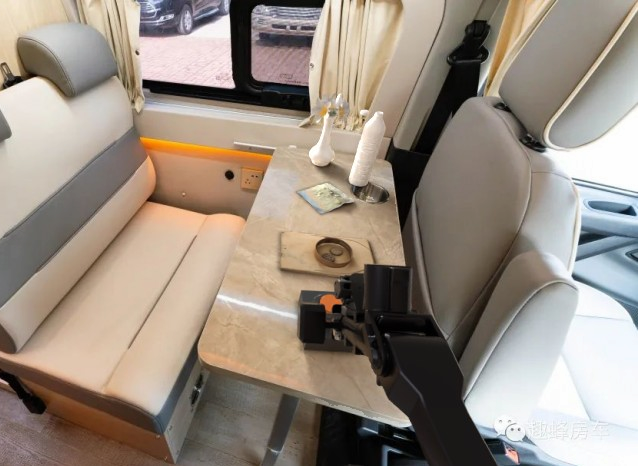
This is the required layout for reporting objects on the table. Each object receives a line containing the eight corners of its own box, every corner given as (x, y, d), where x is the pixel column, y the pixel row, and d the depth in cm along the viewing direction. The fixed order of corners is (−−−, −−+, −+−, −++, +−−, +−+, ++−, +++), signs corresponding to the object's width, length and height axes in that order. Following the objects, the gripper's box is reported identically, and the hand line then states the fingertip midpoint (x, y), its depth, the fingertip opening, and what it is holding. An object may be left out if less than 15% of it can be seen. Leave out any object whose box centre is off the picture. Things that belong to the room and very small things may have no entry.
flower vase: (338, 153, 132) (355, 89, 115) (334, 176, 119) (351, 107, 103) (306, 148, 136) (317, 85, 119) (298, 170, 123) (309, 102, 106)
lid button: (342, 318, 67) (344, 312, 66) (320, 317, 67) (322, 311, 66) (338, 300, 70) (340, 294, 69) (317, 299, 71) (319, 293, 69)
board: (368, 240, 94) (372, 232, 92) (379, 281, 83) (383, 273, 80) (280, 232, 97) (282, 224, 94) (279, 271, 85) (281, 262, 83)
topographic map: (328, 182, 116) (329, 178, 115) (355, 202, 107) (356, 198, 106) (296, 193, 113) (296, 189, 112) (321, 214, 103) (321, 210, 102)
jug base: (351, 352, 69) (361, 334, 64) (303, 349, 69) (309, 331, 64) (340, 305, 77) (347, 286, 73) (297, 302, 78) (302, 284, 73)
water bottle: (366, 178, 118) (389, 109, 102) (368, 187, 114) (392, 117, 97) (341, 175, 120) (360, 106, 103) (342, 184, 115) (361, 114, 99)
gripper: (446, 282, 45) (393, 273, 61) (309, 275, 46) (292, 269, 62) (445, 364, 45) (392, 334, 60) (307, 355, 46) (290, 328, 61)
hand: (341, 314), depth 61 cm, fingers closed
